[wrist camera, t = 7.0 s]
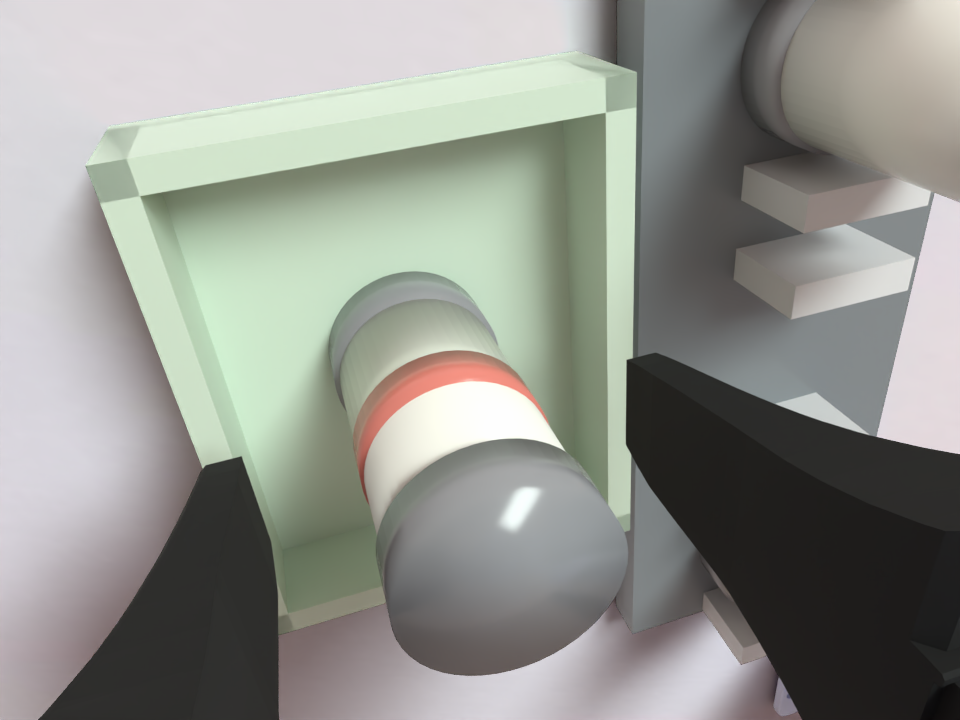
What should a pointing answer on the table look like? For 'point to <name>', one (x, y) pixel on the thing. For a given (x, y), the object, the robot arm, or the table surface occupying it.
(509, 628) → the marked fuse
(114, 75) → the table surface
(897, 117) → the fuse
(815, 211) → the clip board
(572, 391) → the tray
